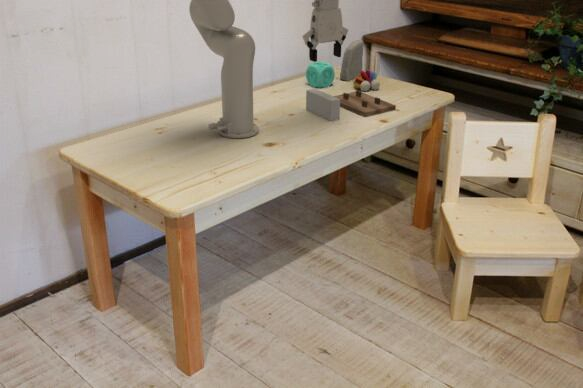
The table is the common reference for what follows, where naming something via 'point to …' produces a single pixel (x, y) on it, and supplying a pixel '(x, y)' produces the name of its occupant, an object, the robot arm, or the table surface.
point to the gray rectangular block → (323, 104)
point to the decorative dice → (320, 74)
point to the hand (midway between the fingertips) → (325, 58)
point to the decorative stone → (352, 61)
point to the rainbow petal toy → (367, 81)
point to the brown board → (364, 104)
